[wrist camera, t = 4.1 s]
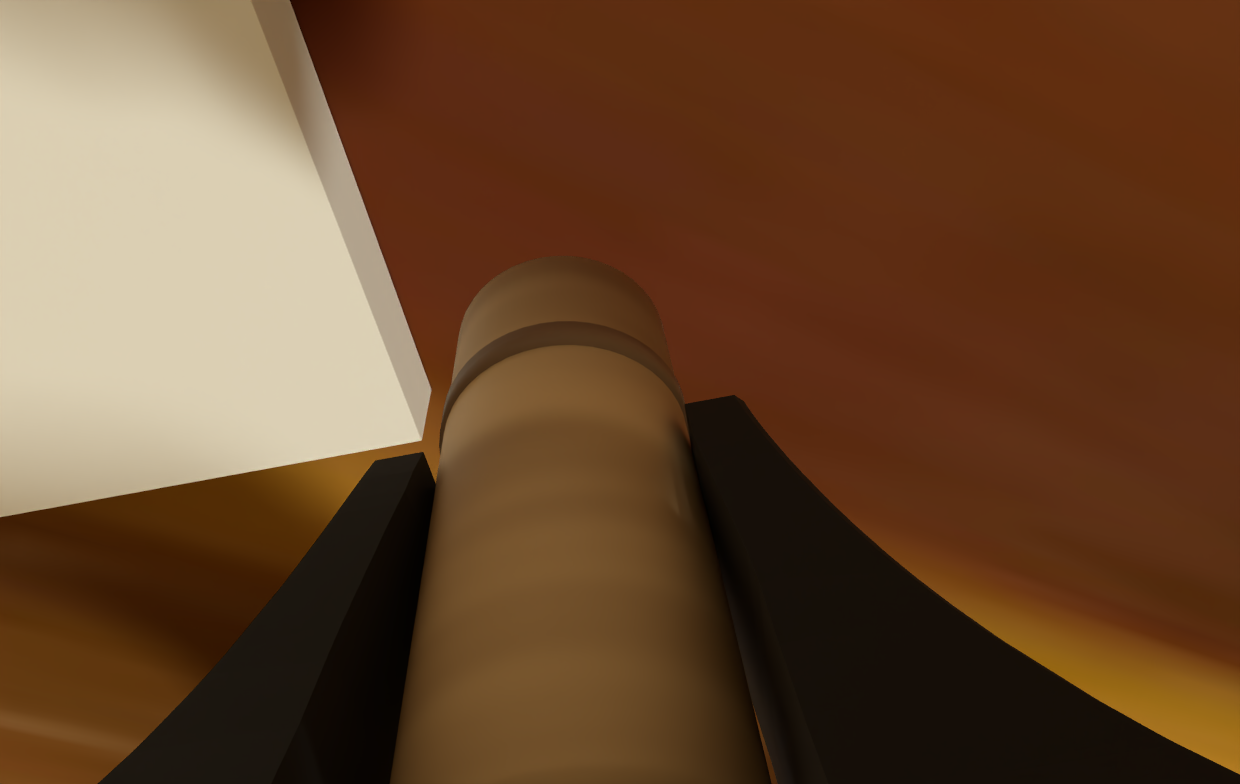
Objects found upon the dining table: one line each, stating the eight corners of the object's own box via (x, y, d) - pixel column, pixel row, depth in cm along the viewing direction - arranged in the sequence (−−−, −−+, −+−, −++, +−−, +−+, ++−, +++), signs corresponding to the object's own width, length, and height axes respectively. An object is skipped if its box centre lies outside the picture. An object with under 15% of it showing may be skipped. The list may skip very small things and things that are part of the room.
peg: (680, 414, 14) (802, 941, 8) (486, 449, 14) (439, 1001, 8) (651, 233, 12) (781, 724, 6) (428, 275, 12) (301, 806, 6)
